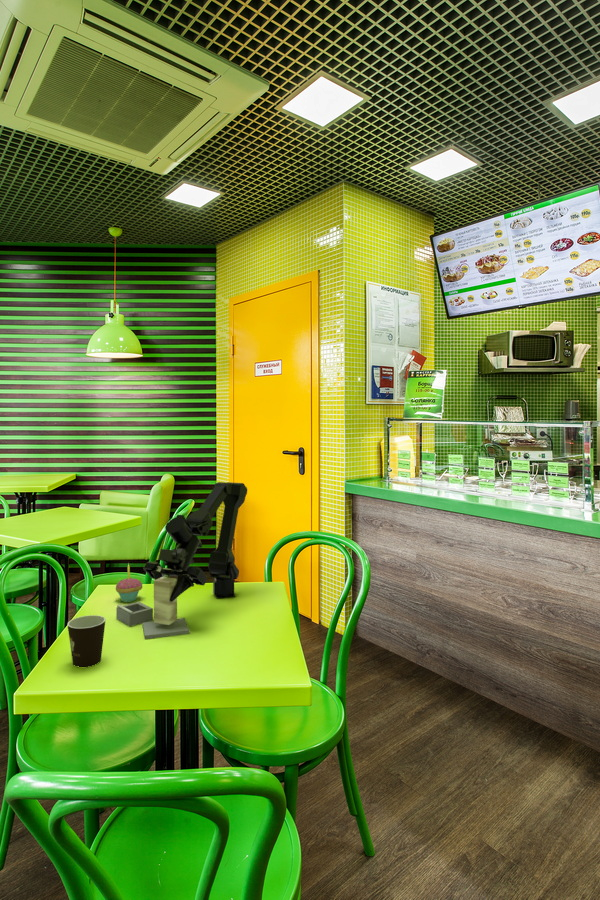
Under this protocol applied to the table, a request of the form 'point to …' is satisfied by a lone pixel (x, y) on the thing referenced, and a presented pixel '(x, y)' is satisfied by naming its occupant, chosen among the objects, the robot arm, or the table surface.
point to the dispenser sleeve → (134, 613)
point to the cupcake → (128, 588)
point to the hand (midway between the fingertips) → (162, 599)
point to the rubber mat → (165, 629)
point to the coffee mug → (86, 639)
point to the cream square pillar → (164, 601)
